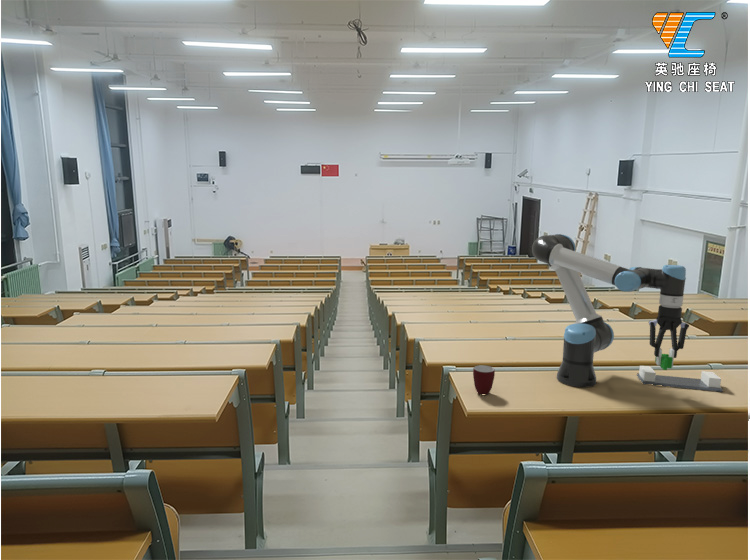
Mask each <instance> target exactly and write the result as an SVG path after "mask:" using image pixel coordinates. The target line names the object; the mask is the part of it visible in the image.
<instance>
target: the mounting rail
mask: <svg viewBox="0 0 750 560" xmlns="http://www.w3.org/2000/svg"><path fill="white" fill-rule="evenodd" d="M636 376H638V377H637V378H638V379H639V381H640V380H641V381H640V382H641V383H643V384H642V385H646V384H653V385H652V386H656V385H662V386H661V387H666V386H670V388H677V389H678V388H679V389H689V390H698V391H700V390H701V391H708V392H709V391H710V392H720V393H722V392H723V388H722V387H721V383H722V378H721V377H720V376H718V375H717V374H716V373H715V372H713V371H704V370H701V373H700V378H691V377H683V376H682V377H681V376H673V375H660V374H656V371H655V370H654V369H653V367H652V366H649V365H639V370H638V373H636Z"/></svg>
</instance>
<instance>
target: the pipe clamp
mask: <svg viewBox="0 0 750 560" xmlns="http://www.w3.org/2000/svg"><path fill="white" fill-rule="evenodd" d="M654 357H655V359H654V361H655V363H656V356H654ZM672 359H673V358H672V357H669V353H662V355H661V365H660V366H659V367H661V369H662V370H664V371H668V369H672V368H673V367H672Z"/></svg>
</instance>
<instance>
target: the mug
mask: <svg viewBox="0 0 750 560" xmlns="http://www.w3.org/2000/svg"><path fill="white" fill-rule="evenodd" d="M495 372H496V371H495V368H494V367H493V366H489V365H483V364H482V365H481V364H479V365H475V366H473V368H472V375H473V383H474V384H473V385H474V388H475V390H476V392H478V393H479V394H478V393H477V394H478V395H480V394H488V395H489V394H490V392H491V390H492V388H493V384H494V380H495V375H496V374H495Z"/></svg>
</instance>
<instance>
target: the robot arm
mask: <svg viewBox="0 0 750 560" xmlns="http://www.w3.org/2000/svg"><path fill="white" fill-rule="evenodd" d="M531 250H532V251H531V253H532V255H533V256H534V258H535V259H536V260H537V261H539V262H540V263H541V262H542V263H544V264H547V265H548V266H549V268H550V269H551V270H554V272H555V274H556V276H557V277H558V280H559V283H560V286H561V288H562V289H563V291H564V295H565V297H566V300H567V301H568V304H569V306H570V309H571V311H572V313H573V316H574V319H575V323H571V324H569V325H567V326H566V327H565V328H564V333H563V346H562V347H563V348H562V360H561V361H562V362H561V364H560V366H559V368H558V370H557V373H556V380H557V381H558V382H560V383H562V384H564V385H567V386H571V387H575V388H592V387H594V386H596V384H597V376H596V375H597V374H596V372H595V368H594V355H595V353H597V352H599V351H603V350H605V349H607V348H608V347H609V346H611V345H612V343H613V341H614V338H615V334H614V333H615V332H614V330H613V327H612V326H611V325H610V324H609V323H606V322H605V320H604V318H603V316H602V315H600V314H598V313H597V312H596V309H595V307H594V306H593V303H592V301H591V298H590V296H589V293H588V292H587V290H586V286H585V285H584V282H583V280H582V277H581V275H580V274H583V275H585V276H588V277H591V278H593V279H595V280H599V281H602V282H604V283H607V284H610V285H613V286H615V287H616V288H617V289H618V290H619V291H621V292H628V293H629V292H633V291H637V290H640V289H644V288H648V289H649V288H650V289H657V290H660V293H659V300H658V304H659V306H658V312H657V317H656V318H655V319H654V320H649V321H648V325H649V345H650V346H651V347H652V348H653V349H654V353H653V354H654V355H653V356H654V357H656V362H655V364H656V366H658V367H660V365H661V355H662V354H663V349H662V348H661V346H662V343H663V340H664V336H665V333H666V331H670V338H671V339H670V340H671V348H669V352H668V354H669V357H672V358H673V359H672V368H673V367H674V359H675V358H677V357H678V351H679V350H683V349H684V346H685V342H686V341H685V340H686V335H687V331H688V329H689V327H690V324H689V323H687V322H683V319H682V313H683V308H682V307H683V302H684V292H685V285H686V279H687V277H686V275H687V274H686V273H687V269H686V267H685V266H683V265H679V264H664V265H663V266H662V268H661V269H658V268H649V267H641V266H638V267H637V266H635V267H634V266H632V267H630V268H626V267H624V266H623V267H622V266H620V265H617V264H614V263H611V262H610V261H609V262H608V261H605V260H602V259H599V258H597V257H593V256H590V255H587V254H584V253H581V252H578V251H576V244H575V242H574V240H573V239H572V238H571V237H570V236H568V235H565V234H561V233H560V234H558V233H557V234H549V235H545V234H544V235H541V236H538V237H537V238H536V239H535V240H534V241H533V243H532V246H531ZM657 324H658V326H659V329H658V333H657V337H656V327H657ZM679 327H680V330H679V335H678V334H677V328H679ZM677 335H678V337H677Z"/></svg>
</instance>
